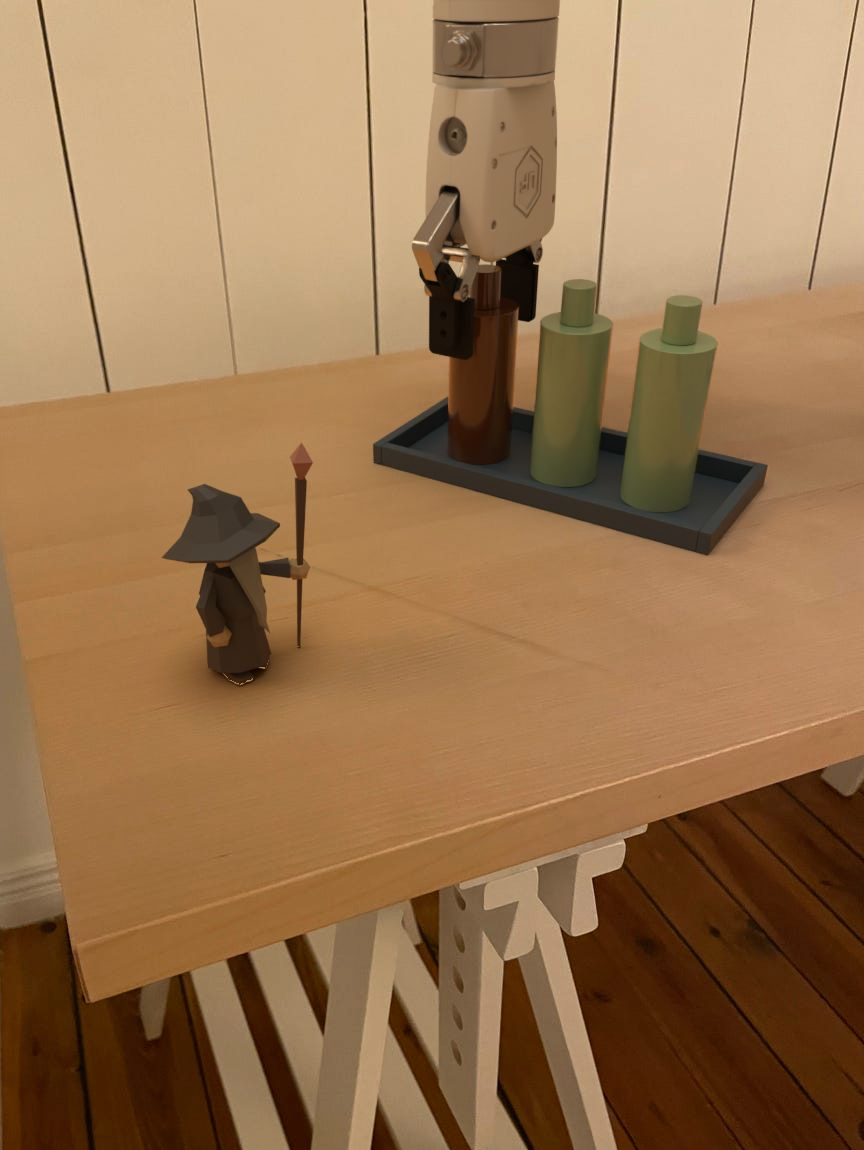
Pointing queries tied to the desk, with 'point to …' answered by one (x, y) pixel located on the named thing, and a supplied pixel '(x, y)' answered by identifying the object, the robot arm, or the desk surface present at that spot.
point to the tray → (694, 528)
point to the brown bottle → (485, 377)
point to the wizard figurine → (239, 572)
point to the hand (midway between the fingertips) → (483, 335)
